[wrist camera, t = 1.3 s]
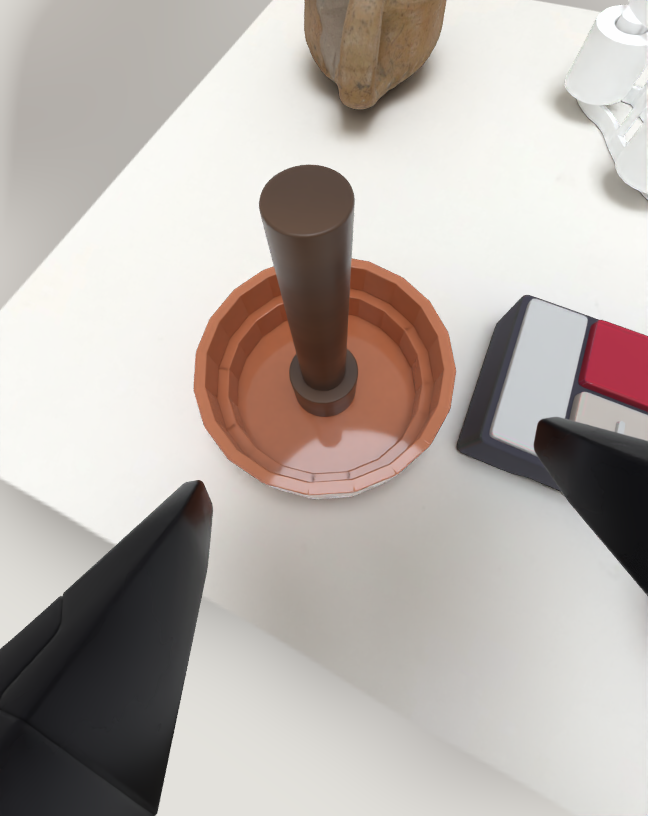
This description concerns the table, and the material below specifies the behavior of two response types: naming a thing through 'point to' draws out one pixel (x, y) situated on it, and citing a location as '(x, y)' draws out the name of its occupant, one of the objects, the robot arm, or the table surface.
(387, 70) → the tan clay cup
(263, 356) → the mixing bowl
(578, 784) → the table surface
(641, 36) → the wheeled car silhouette
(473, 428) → the calculator
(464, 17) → the table surface
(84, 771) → the robot arm
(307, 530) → the table surface
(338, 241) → the pestle
